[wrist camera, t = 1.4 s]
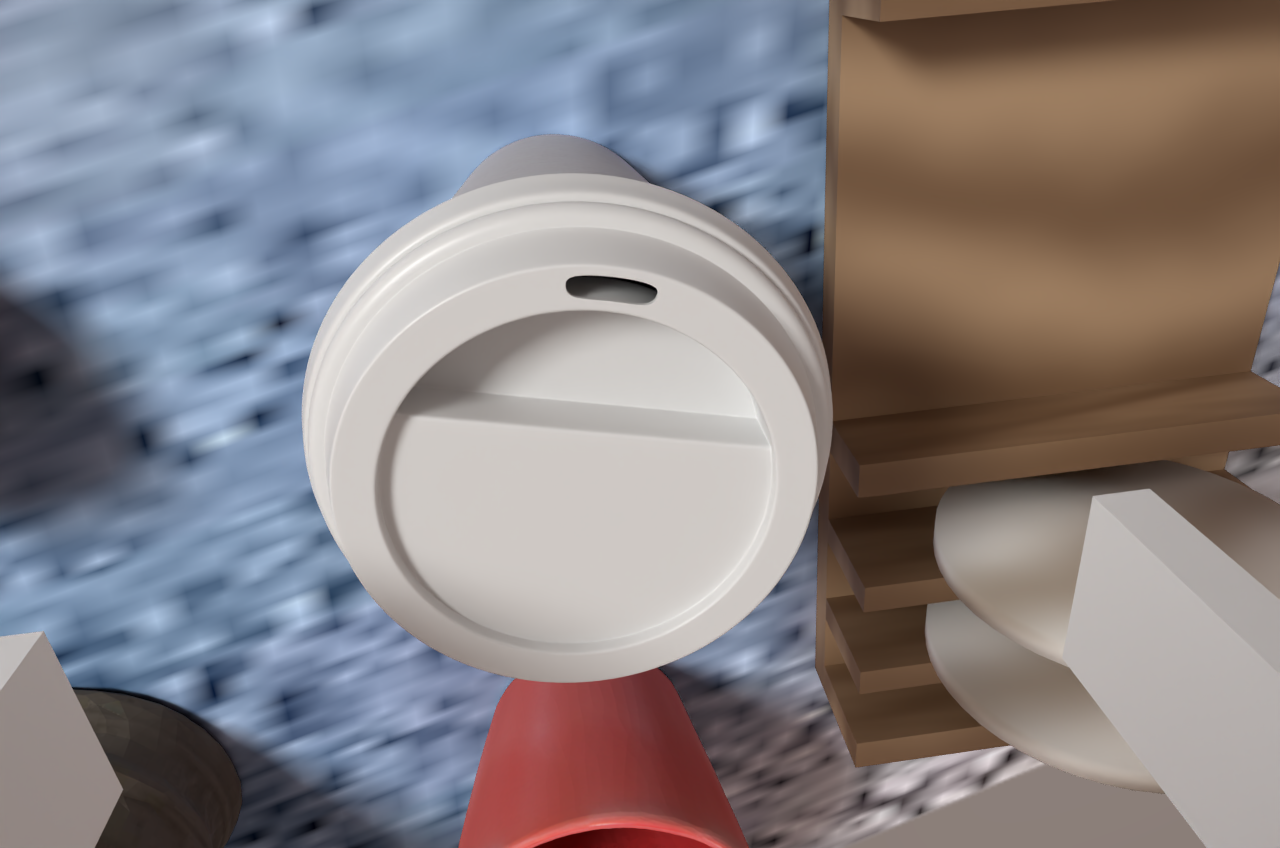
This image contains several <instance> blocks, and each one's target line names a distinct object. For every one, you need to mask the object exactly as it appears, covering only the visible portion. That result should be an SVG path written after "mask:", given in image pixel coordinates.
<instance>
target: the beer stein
mask: <svg viewBox="0 0 1280 848" xmlns="http://www.w3.org/2000/svg"><path fill="white" fill-rule="evenodd" d="M73 691H74V693H75V695H76V697H77V699H78V701H79V703H80V705H81V707H82V709H83V711H84V713H85V715H86V717H87V719H88V721H89V723H90V725H91V727H92V729H93V731H94V733H95V734H96V736H97V738H98V740H99V742H100V744H101V746H102V748H103V750H104V752H105V754H106V756H107V758H108V760H109V762H110V764H111V766H112V768H113V770H114V772H115V774H116V776H117V778H118V780H119V782H120V784H121V786H122V788H123V791H122V793H121V795H120V797H119V799H118V801H117V803H116V805H115V807H114V809H113V811H112V813H111V815H110V817H109V819H108V821H107V824H106V826H105V828H104V830H103V832H102V834H101V836H100V838H99V840H98V842H97V844H96V846H95V848H224V846H225V845H226V843H227V842H228V840H229V838H230V836H231V833H232V831H233V829H234V827H235V825H236V823H237V820H238V816H239V812H240V809H241V805H242V792H241V782H240V780H239V777H238V775H237V773H236V770H235V768H234V766H233V763H232V762H231V760H230V759H229V757H228V755H227V754H226V752H225V751H224V749H223V748H222V746H221V745H220V744H219V743H218V742H217V741H216V740H215V739H214V738H213V737H212V736H211V735H210V734H209V733H207V732H206V731H205V730H204V729H203V728H202V727H200V726H199V725H197V724H195V723H193V722H192V721H191V720H189V719H188V718H187V717H185V716H184V715H182V714H180V713H178V712H176V711H174V710H171V709H169V708H167V707H165V706H163V705H161V704H158V703H155V702H151V701H147V700H144V699H140V698H137V697H133V696H129V695H126V694H119V693H111V692H104V691H96V690H73Z"/></svg>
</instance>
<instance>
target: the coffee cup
mask: <svg viewBox="0 0 1280 848" xmlns="http://www.w3.org/2000/svg"><path fill="white" fill-rule="evenodd" d="M832 427H833V405H832V392H831V383H830V375H829V369H828V363H827V359H826V354H825V350H824V347H823V343H822V340H821V337H820V334H819V331H818V329H817V326H816V323H815V321H814V319H813V317H812V314H811V312H810V310H809V308H808V306H807V304H806V302H805V301H804V299H803V297H802V295H801V294H800V292H799V291H798V289H797V287H796V286H795V284H794V283H793V281H792V280H791V279H790V277H789V276H788V275H787V273H786V272H785V271H784V269H783V268H782V267H781V266H780V265H779V263H778V262H777V261H776V260H775V259H774V258H773V257H772V256H771V255H770V254H769V252H768V251H767V250H766V249H765V248H764V247H762V246H761V245H760V244H759V243H758V242H757V241H756V240H755V239H754V238H753V237H751V236H750V235H749V234H748V233H747V232H745V231H744V230H743V229H741V228H740V227H739V226H737V225H736V224H735V223H733V222H732V221H730V220H729V219H727V218H726V217H724V216H723V215H721V214H720V213H718V212H716V211H714V210H713V209H711V208H709V207H707V206H705V205H703V204H701V203H700V202H698V201H695V200H693V199H691V198H689V197H687V196H684V195H682V194H679V193H677V192H674V191H672V190H669V189H666V188H663V187H660V186H656V185H653V184H650V183H649V182H648V181H647V180H646V179H644V178H643V177H642V176H641V175H640V174H639V173H638V172H637V171H636V170H635V169H633V168H632V167H631V166H630V165H629V164H628V163H627V162H626V161H624V160H623V159H622V158H621V157H619V156H618V155H617V154H615V153H614V152H612V151H611V150H609V149H607V148H605V147H604V146H602V145H600V144H597V143H595V142H592V141H590V140H587V139H583V138H580V137H575V136H570V135H559V134H548V135H538V136H533V137H528V138H524V139H521V140H518V141H516V142H513V143H511V144H509V145H506V146H505V147H503V148H501V149H499V150H498V151H496V152H495V153H493V154H492V155H490V156H489V157H488V158H487V159H485V160H484V161H483V162H482V163H481V164H480V165H479V166H478V167H477V168H476V169H475V170H474V171H473V173H472V174H471V175H470V176H469V177H468V179H467V180H466V181H465V182H464V184H463V185H462V186H461V188H460V189H459V190H458V191H457V193H456V194H455V195H454V196H453V198H452V199H450V200H448V201H445V202H443V203H441V204H439V205H437V206H436V207H434V208H432V209H430V210H428V211H426V212H425V213H423V214H421V215H420V216H418V217H416V218H415V219H413V220H412V221H410V222H409V223H407V224H406V225H404V226H403V227H402V228H400V229H399V230H398V231H396V232H395V233H394V234H392V235H391V236H390V237H389V238H388V239H386V240H385V241H384V242H383V243H382V244H381V245H379V246H378V247H377V248H376V249H375V250H374V251H373V252H372V253H371V254H370V255H369V256H368V257H367V258H366V259H365V260H364V261H363V262H362V264H361V265H360V266H359V267H358V268H357V269H356V270H355V272H354V273H353V274H352V275H351V277H350V278H349V279H348V280H347V282H346V283H345V285H344V286H343V287H342V289H341V290H340V292H339V293H338V295H337V296H336V298H335V300H334V301H333V303H332V305H331V306H330V308H329V310H328V312H327V314H326V316H325V318H324V320H323V322H322V324H321V326H320V329H319V331H318V334H317V336H316V339H315V341H314V344H313V347H312V350H311V354H310V357H309V361H308V365H307V370H306V375H305V381H304V388H303V398H302V429H303V442H304V451H305V459H306V464H307V469H308V474H309V478H310V482H311V485H312V489H313V492H314V495H315V498H316V500H317V503H318V505H319V508H320V510H321V512H322V515H323V517H324V519H325V522H326V524H327V526H328V528H329V530H330V532H331V534H332V536H333V538H334V539H335V541H336V543H337V545H338V546H339V548H340V549H341V551H342V552H343V554H344V556H345V557H346V558H347V560H348V561H349V563H350V565H351V567H352V569H353V571H354V572H355V574H356V576H357V577H358V579H359V580H360V582H361V583H362V585H363V586H364V588H365V589H366V590H367V592H368V593H369V594H370V595H371V597H372V598H373V599H374V600H375V602H376V603H377V604H378V605H379V606H380V607H381V608H382V609H383V610H384V611H385V612H386V613H387V614H388V615H389V616H390V617H391V618H392V619H393V620H394V621H395V622H396V623H398V624H399V625H400V626H401V627H402V628H404V629H405V630H406V631H407V632H409V633H410V634H411V635H413V636H414V637H416V638H417V639H418V640H420V641H421V642H423V643H425V644H426V645H428V646H429V647H431V648H433V649H435V650H436V651H438V652H440V653H442V654H444V655H446V656H448V657H450V658H452V659H454V660H457V661H459V662H461V663H464V664H466V665H469V666H472V667H475V668H477V669H480V670H484V671H487V672H490V673H494V674H498V675H502V676H506V677H511V678H517V679H523V680H530V681H539V682H554V683H576V682H592V681H601V680H608V679H614V678H620V677H625V676H629V675H633V674H638V673H641V672H645V671H648V670H651V669H654V668H657V667H660V666H663V665H666V664H668V663H671V662H673V661H676V660H678V659H680V658H683V657H685V656H687V655H689V654H691V653H693V652H695V651H697V650H699V649H701V648H702V647H704V646H706V645H708V644H709V643H711V642H713V641H714V640H716V639H717V638H719V637H720V636H722V635H723V634H725V633H726V632H728V631H729V630H730V629H732V628H733V627H734V626H735V625H737V624H738V623H739V622H740V621H742V620H743V619H744V618H745V617H746V616H747V615H749V614H750V613H751V612H752V611H753V610H754V609H755V608H756V607H757V606H758V605H759V604H760V603H761V602H762V601H763V600H764V599H765V597H766V596H767V595H768V594H769V593H770V592H771V591H772V589H773V588H774V587H775V586H776V584H777V583H778V582H779V580H780V579H781V577H782V576H783V575H784V573H785V572H786V570H787V569H788V567H789V565H790V564H791V562H792V560H793V558H794V557H795V555H796V553H797V551H798V549H799V547H800V545H801V543H802V540H803V538H804V536H805V533H806V530H807V528H808V525H809V522H810V518H811V515H812V512H813V509H814V507H815V505H816V502H817V499H818V497H819V494H820V491H821V487H822V484H823V480H824V476H825V472H826V468H827V463H828V458H829V453H830V447H831V439H832Z"/></svg>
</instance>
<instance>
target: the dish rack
mask: <svg viewBox="0 0 1280 848" xmlns="http://www.w3.org/2000/svg"><path fill="white" fill-rule="evenodd" d="M1279 262H1280V0H829V43H828V90H827V138H826V185H825V232H824V280H823V327H822V343H823V347H824V350H825V354H826V359H827V363H828V369H829V375H830V383H831V392H832V405H833V427H832V439H831V447H830V453H829V458H828V463H827V468H826V472H825V476H824V480H823V484H822V487H821V491H820V494H819V516H818V563H817V611H816V658H815V668H816V671H817V673H818V676H819V678H820V681H821V683H822V686H823V688H824V691H825V693H826V695H827V698H828V700H829V703H830V705H831V708H832V710H833V713H834V715H835V718H836V720H837V723H838V725H839V728H840V730H841V733H842V735H843V738H844V740H845V743H846V745H847V747H848V750H849V752H850V755H851V757H852V760H853V762H854V765H855V767H863V766H870V765H877V764H884V763H891V762H898V761H904V760H911V759H918V758H925V757H932V756H939V755H946V754H953V753H960V752H967V751H974V750H981V749H987V748H994V747H1001V746H1008V745H1011V746H1013V747H1014V748H1016V749H1018V750H1019V751H1021V752H1023V753H1025V754H1027V755H1029V756H1031V757H1033V758H1035V759H1037V760H1039V761H1041V762H1043V763H1045V764H1047V765H1049V766H1052V767H1054V768H1057V769H1060V770H1062V771H1065V772H1067V773H1070V774H1072V775H1075V776H1078V777H1082V778H1085V779H1088V780H1091V781H1095V782H1098V783H1101V784H1105V785H1110V786H1115V787H1119V788H1124V789H1130V790H1135V791H1143V792H1152V793H1161V794H1165V792H1164V791H1163V790H1162V788H1161V787H1160V786H1159V785H1158V783H1157V782H1156V781H1155V779H1154V778H1153V777H1152V775H1151V774H1150V773H1149V771H1148V770H1147V769H1146V767H1145V766H1144V765H1143V764H1142V762H1141V761H1140V760H1139V758H1138V757H1137V756H1136V754H1135V753H1134V752H1133V750H1132V749H1131V748H1130V746H1129V745H1128V744H1127V742H1126V741H1125V740H1124V739H1123V737H1122V736H1121V735H1120V733H1119V732H1118V731H1117V729H1116V728H1115V727H1114V725H1113V724H1112V723H1111V721H1110V720H1109V719H1108V718H1107V716H1106V715H1105V714H1104V712H1103V711H1102V710H1101V708H1100V707H1099V706H1098V704H1097V703H1096V702H1095V700H1094V699H1093V698H1092V697H1091V695H1090V694H1089V693H1088V691H1087V690H1086V689H1085V687H1084V686H1083V685H1082V683H1081V682H1080V681H1079V679H1078V678H1077V677H1076V675H1075V674H1074V673H1073V672H1072V670H1071V669H1070V668H1069V666H1068V665H1067V664H1066V662H1065V661H1064V660H1063V658H1062V656H1063V651H1064V646H1065V640H1066V635H1067V630H1068V625H1069V619H1070V614H1071V609H1072V604H1073V598H1074V593H1075V588H1076V582H1077V577H1078V572H1079V567H1080V561H1081V556H1082V551H1083V545H1084V540H1085V535H1086V530H1087V524H1088V519H1089V514H1090V509H1091V503H1092V498H1093V496H1097V495H1104V494H1112V493H1120V492H1128V491H1135V490H1143V489H1151V490H1152V491H1153V492H1154V493H1155V494H1157V495H1158V496H1159V497H1160V498H1161V499H1162V500H1164V501H1165V502H1166V503H1167V504H1168V505H1169V506H1171V507H1172V508H1173V509H1174V510H1175V511H1176V512H1178V513H1179V514H1180V515H1181V516H1182V517H1183V518H1185V519H1186V520H1187V521H1188V522H1189V523H1190V524H1192V525H1193V526H1194V527H1195V528H1196V529H1197V530H1199V531H1200V532H1201V533H1202V534H1203V535H1204V536H1206V537H1207V538H1208V539H1209V540H1210V541H1211V542H1213V543H1214V544H1215V545H1216V546H1217V547H1218V548H1220V549H1221V550H1222V551H1223V552H1224V553H1226V554H1227V555H1228V556H1229V557H1230V558H1231V559H1233V560H1234V561H1235V562H1236V563H1237V564H1238V565H1240V566H1241V567H1242V568H1243V569H1244V570H1245V571H1247V572H1248V573H1249V574H1250V575H1251V576H1252V577H1254V578H1255V579H1256V580H1257V581H1258V582H1259V583H1261V584H1262V585H1263V586H1264V587H1265V588H1266V589H1268V590H1269V591H1270V592H1271V593H1272V594H1273V595H1275V596H1276V597H1277V598H1278V599H1279V600H1280V504H1278V503H1276V502H1274V501H1273V500H1271V499H1269V498H1267V497H1265V496H1264V495H1262V494H1260V493H1258V492H1256V491H1254V490H1252V489H1251V488H1249V487H1248V486H1246V485H1245V484H1244V483H1242V482H1241V481H1240V480H1238V479H1237V478H1236V477H1234V476H1233V475H1231V474H1230V473H1229V472H1227V471H1226V470H1225V469H1224V468H1225V464H1226V461H1227V457H1228V453H1229V452H1230V451H1238V450H1246V449H1254V448H1261V447H1269V446H1277V445H1280V388H1279V387H1277V386H1276V385H1274V384H1272V383H1270V382H1269V381H1267V380H1265V379H1263V378H1262V377H1260V376H1258V375H1256V374H1255V373H1253V372H1251V367H1252V363H1253V360H1254V356H1255V352H1256V348H1257V345H1258V341H1259V337H1260V333H1261V330H1262V326H1263V322H1264V319H1265V315H1266V311H1267V307H1268V304H1269V300H1270V296H1271V292H1272V289H1273V285H1274V281H1275V277H1276V274H1277V270H1278V266H1279Z"/></svg>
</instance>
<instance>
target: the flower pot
mask: <svg viewBox="0 0 1280 848" xmlns="http://www.w3.org/2000/svg"><path fill="white" fill-rule="evenodd" d="M458 848H749V846H748V844H747V842H746V840H745V837H744V835H743V833H742V830H741V828H740V826H739V824H738V821H737V819H736V817H735V815H734V813H733V810H732V808H731V806H730V804H729V802H728V800H727V798H726V795H725V793H724V791H723V789H722V787H721V784H720V782H719V780H718V778H717V776H716V773H715V771H714V769H713V767H712V765H711V763H710V760H709V758H708V756H707V754H706V752H705V750H704V748H703V746H702V744H701V741H700V739H699V737H698V735H697V733H696V731H695V729H694V727H693V725H692V722H691V720H690V718H689V716H688V714H687V712H686V710H685V708H684V706H683V703H682V701H681V699H680V697H679V695H678V693H677V691H676V689H675V687H674V686H673V684H672V682H671V681H670V680H669V679H668V678H667V677H666V676H665V674H664V673H663V672H662V671H661V670H659V669H658V668H654V669H651V670H648V671H645V672H641V673H638V674H633V675H629V676H625V677H620V678H614V679H608V680H601V681H592V682H576V683H554V682H539V681H530V680H523V679H517V678H515V679H514V680H513V681H512V683H511V684H510V685H509V686H508V688H507V689H506V690H505V692H504V694H503V695H502V697H501V699H500V701H499V703H498V705H497V707H496V710H495V713H494V716H493V720H492V723H491V726H490V729H489V733H488V736H487V739H486V742H485V746H484V749H483V753H482V756H481V760H480V763H479V767H478V771H477V774H476V778H475V782H474V786H473V790H472V794H471V798H470V802H469V806H468V810H467V814H466V818H465V822H464V826H463V830H462V834H461V838H460V842H459V847H458Z"/></svg>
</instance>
